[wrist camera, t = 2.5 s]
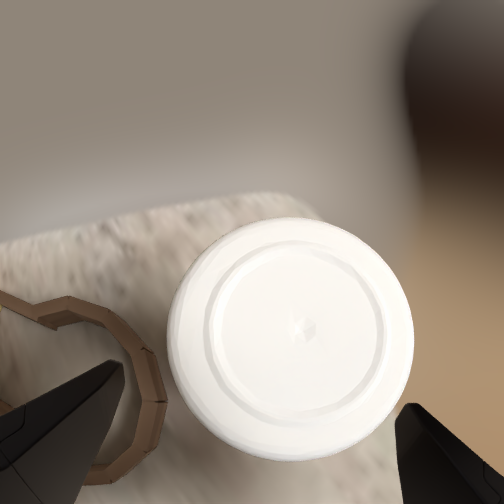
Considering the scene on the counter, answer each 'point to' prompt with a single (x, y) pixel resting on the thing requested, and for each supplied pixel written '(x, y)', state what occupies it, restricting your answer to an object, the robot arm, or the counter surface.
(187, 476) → the counter surface
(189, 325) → the sprinkles bottle
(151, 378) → the keyhole guide
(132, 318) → the counter surface
